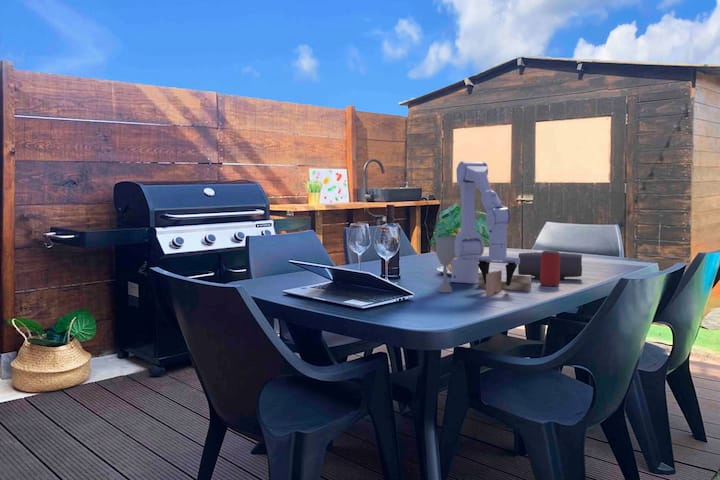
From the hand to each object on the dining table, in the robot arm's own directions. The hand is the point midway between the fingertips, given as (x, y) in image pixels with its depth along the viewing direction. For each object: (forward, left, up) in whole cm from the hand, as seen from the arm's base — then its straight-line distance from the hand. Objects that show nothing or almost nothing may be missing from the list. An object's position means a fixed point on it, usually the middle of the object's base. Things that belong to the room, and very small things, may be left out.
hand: (497, 284), depth 204 cm
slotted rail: (0, +8, -2) cm, 8 cm away
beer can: (+12, +21, -3) cm, 25 cm away
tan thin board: (0, -4, -2) cm, 4 cm away
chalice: (-16, -6, -3) cm, 17 cm away
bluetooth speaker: (+8, +38, -3) cm, 38 cm away
